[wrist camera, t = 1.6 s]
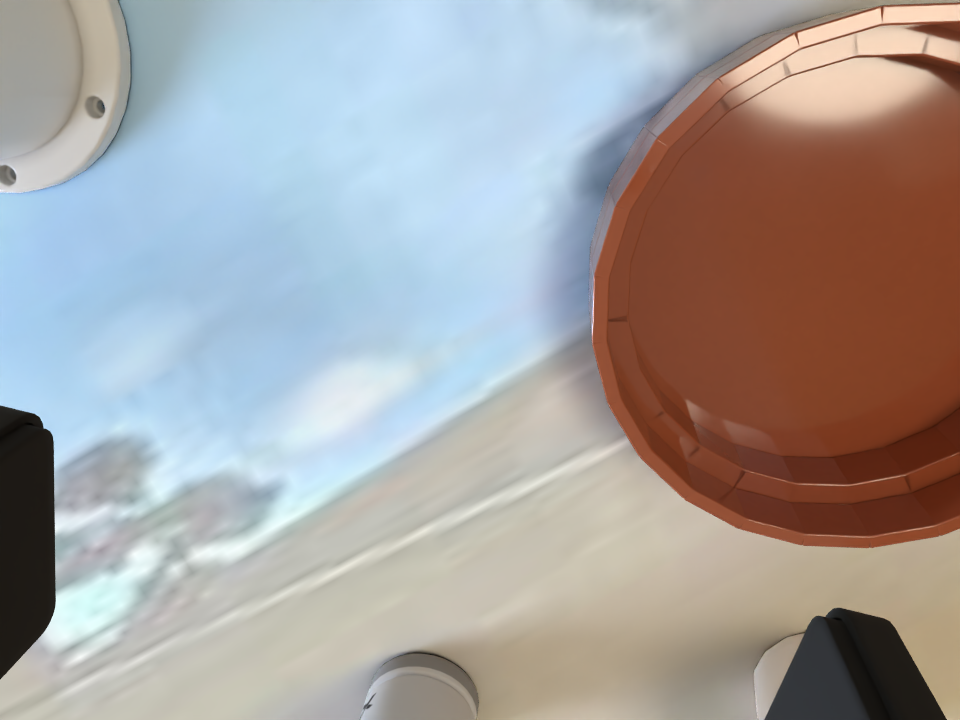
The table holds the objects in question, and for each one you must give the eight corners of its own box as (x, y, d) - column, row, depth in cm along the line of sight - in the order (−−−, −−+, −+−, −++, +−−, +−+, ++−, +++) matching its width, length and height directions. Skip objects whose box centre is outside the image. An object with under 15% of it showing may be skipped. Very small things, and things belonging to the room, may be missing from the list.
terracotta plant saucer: (506, 349, 36) (496, 398, 30) (774, -94, 28) (819, -128, 23) (867, 547, 37) (915, 625, 32) (1210, 180, 30) (1342, 205, 25)
